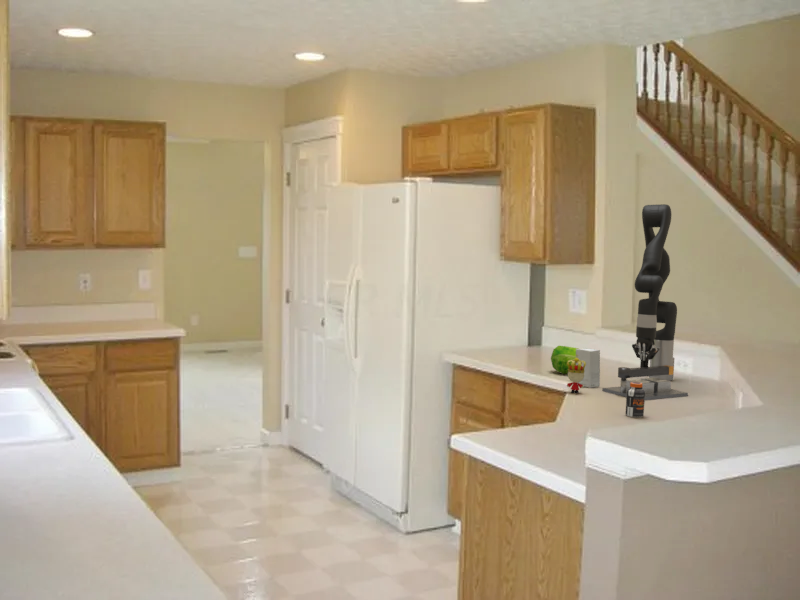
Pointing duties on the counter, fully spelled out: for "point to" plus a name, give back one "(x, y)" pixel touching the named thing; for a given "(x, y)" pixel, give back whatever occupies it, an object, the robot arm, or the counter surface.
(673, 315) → the robot arm
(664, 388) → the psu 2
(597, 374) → the skincare box
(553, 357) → the lettuce
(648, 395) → the tray
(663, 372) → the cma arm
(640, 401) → the pill bottle
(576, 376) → the toy
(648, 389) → the block
